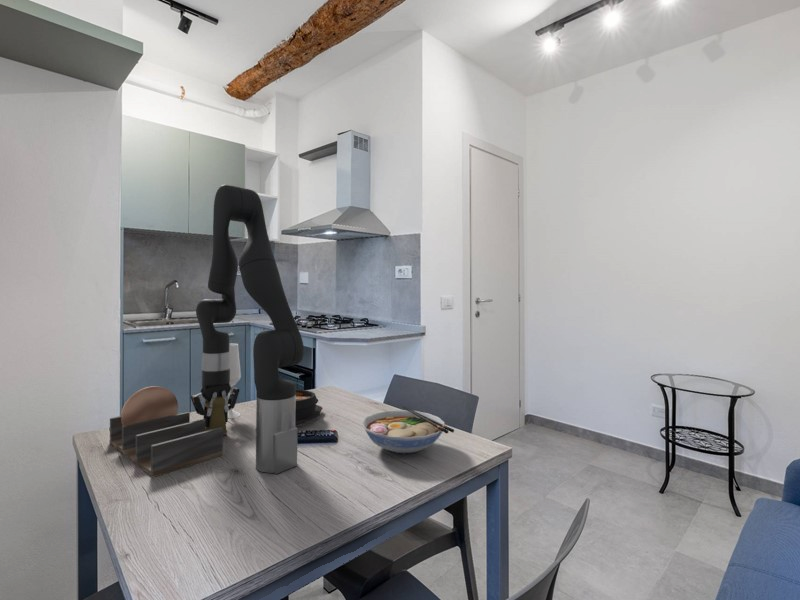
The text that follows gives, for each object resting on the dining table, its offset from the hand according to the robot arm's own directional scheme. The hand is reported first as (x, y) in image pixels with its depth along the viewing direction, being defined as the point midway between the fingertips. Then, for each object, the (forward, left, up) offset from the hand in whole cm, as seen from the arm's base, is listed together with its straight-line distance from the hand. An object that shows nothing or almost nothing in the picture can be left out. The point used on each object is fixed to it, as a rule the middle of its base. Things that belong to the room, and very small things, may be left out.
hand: (215, 425), depth 119 cm
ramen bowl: (-47, -29, -3) cm, 55 cm away
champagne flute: (+14, -12, -3) cm, 19 cm away
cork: (0, 0, -2) cm, 2 cm away
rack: (0, +14, -3) cm, 14 cm away
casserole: (-5, -23, -3) cm, 24 cm away
